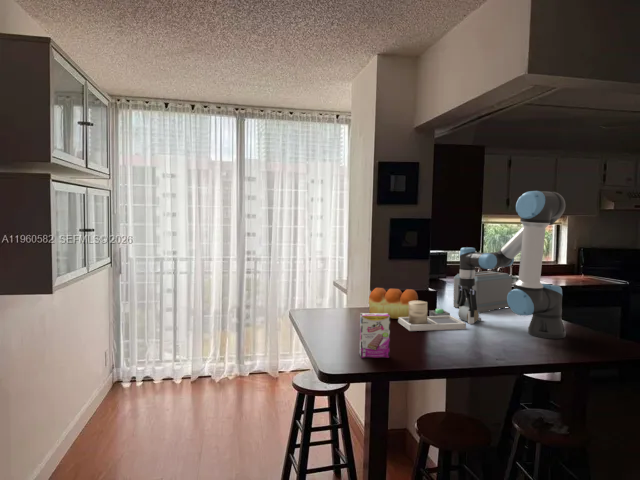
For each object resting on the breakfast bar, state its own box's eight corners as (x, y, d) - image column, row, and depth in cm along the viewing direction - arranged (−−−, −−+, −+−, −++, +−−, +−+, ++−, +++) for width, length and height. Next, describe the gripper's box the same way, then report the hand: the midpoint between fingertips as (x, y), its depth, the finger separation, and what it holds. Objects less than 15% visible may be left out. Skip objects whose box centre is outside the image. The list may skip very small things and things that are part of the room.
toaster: (448, 308, 257) (448, 273, 256) (486, 302, 273) (487, 270, 272) (473, 314, 240) (473, 277, 240) (512, 308, 257) (513, 273, 256)
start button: (444, 317, 228) (444, 310, 227) (437, 317, 227) (437, 310, 227) (441, 315, 232) (441, 308, 231) (434, 316, 231) (434, 308, 231)
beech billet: (430, 324, 209) (429, 303, 208) (411, 325, 208) (411, 304, 208) (423, 320, 218) (423, 300, 217) (406, 320, 217) (406, 301, 217)
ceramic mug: (467, 323, 218) (467, 308, 217) (457, 320, 225) (458, 305, 225) (485, 322, 221) (485, 307, 220) (474, 319, 228) (475, 304, 228)
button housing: (449, 319, 226) (449, 313, 226) (435, 320, 225) (435, 313, 225) (443, 316, 234) (443, 310, 234) (429, 317, 233) (429, 310, 233)
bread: (418, 315, 238) (418, 288, 237) (415, 320, 226) (415, 292, 225) (373, 312, 246) (373, 286, 245) (368, 316, 234) (368, 289, 233)
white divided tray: (465, 328, 208) (465, 323, 208) (409, 331, 204) (409, 325, 204) (450, 320, 224) (450, 315, 224) (398, 322, 220) (398, 317, 220)
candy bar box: (360, 358, 164) (361, 315, 163) (359, 354, 169) (359, 312, 168) (390, 358, 164) (390, 315, 163) (387, 354, 169) (388, 312, 168)
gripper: (485, 280, 211) (484, 326, 212) (464, 274, 233) (463, 316, 234) (470, 280, 210) (469, 326, 211) (450, 275, 232) (450, 316, 233)
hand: (466, 321), depth 223 cm, fingers open, 9 cm apart
